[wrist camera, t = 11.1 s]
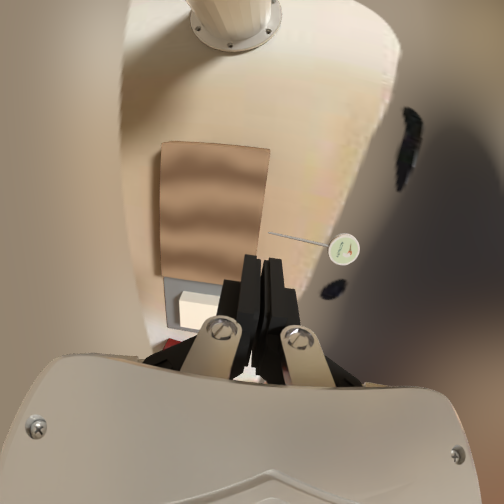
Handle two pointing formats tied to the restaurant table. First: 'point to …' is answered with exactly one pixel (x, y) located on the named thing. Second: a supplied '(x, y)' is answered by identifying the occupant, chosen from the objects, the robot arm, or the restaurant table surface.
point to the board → (210, 208)
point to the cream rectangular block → (196, 309)
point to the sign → (337, 247)
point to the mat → (174, 292)
